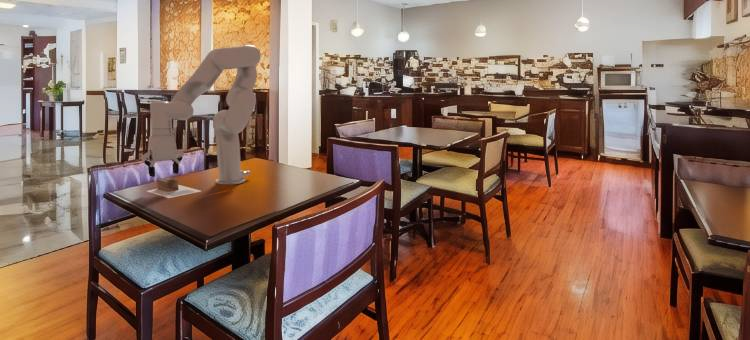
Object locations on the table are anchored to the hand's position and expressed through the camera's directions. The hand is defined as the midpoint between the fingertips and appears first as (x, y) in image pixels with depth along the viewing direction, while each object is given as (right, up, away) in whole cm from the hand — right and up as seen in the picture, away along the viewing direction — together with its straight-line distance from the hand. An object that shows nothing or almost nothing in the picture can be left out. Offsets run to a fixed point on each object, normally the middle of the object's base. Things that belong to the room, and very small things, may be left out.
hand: (164, 174), depth 185 cm
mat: (+4, -7, -1) cm, 8 cm away
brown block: (+1, -6, +2) cm, 6 cm away
